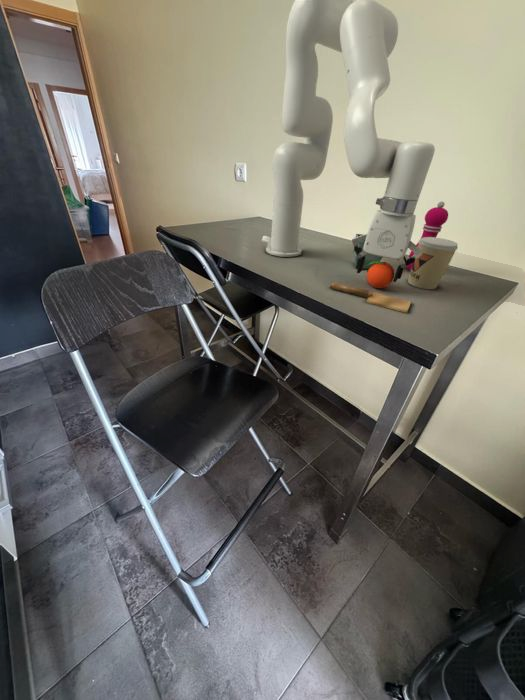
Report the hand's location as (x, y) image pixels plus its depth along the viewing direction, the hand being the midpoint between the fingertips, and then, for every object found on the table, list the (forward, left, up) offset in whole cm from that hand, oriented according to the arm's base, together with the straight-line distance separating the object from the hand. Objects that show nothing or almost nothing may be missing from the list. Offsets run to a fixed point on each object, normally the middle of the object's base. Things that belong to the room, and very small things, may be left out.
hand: (376, 276), depth 77 cm
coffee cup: (+11, +11, -3) cm, 16 cm away
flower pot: (-7, +15, -3) cm, 17 cm away
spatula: (0, -9, -3) cm, 9 cm away
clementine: (0, 0, -3) cm, 3 cm away
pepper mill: (+8, +24, -3) cm, 26 cm away
